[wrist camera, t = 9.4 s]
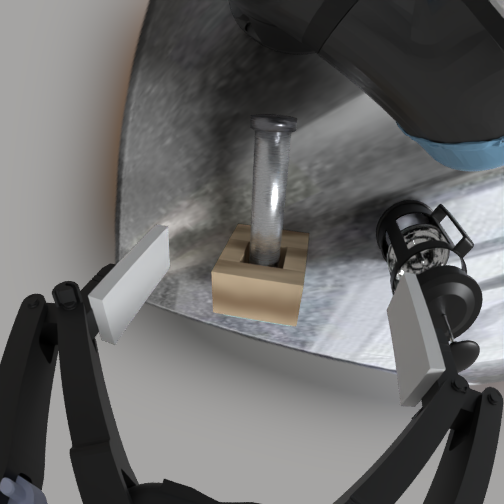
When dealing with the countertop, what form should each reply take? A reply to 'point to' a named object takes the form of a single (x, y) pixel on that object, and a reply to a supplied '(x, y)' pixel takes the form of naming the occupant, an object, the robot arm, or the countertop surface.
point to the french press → (434, 272)
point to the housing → (260, 279)
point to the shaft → (269, 186)
